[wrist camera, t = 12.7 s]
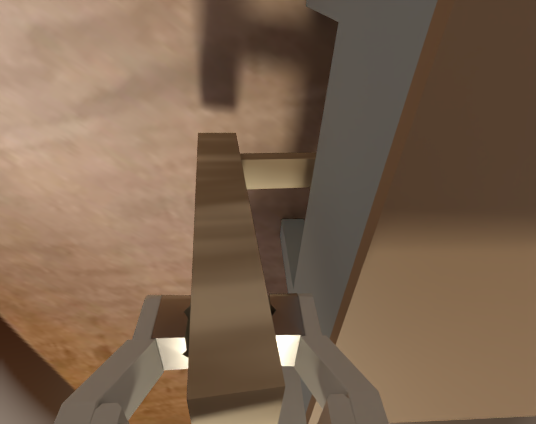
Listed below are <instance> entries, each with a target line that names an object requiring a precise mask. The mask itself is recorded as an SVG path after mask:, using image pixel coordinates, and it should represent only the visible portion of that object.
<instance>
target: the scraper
mask: <svg viewBox="0 0 536 424" xmlns="http://www.w3.org/2000/svg"><path fill="white" fill-rule="evenodd" d="M316 153H317V152H313V153H244V154H240V152H239V146H238V141H237V136H236V133H198V147H197V171H196V194H195V217H194V241H193V264H192V287H191V311H190V334H189V357H188V381H187V404H188V409H189V414H190V419H191V424H278V421H279V416H280V411H281V406H282V401H283V396H284V391H285V382H284V377H283V371H282V366H281V361H280V356H279V351H278V346H277V341H276V336H275V330H274V325H273V320H272V315H271V310H270V305H269V300H268V295H267V290H266V284H265V279H264V274H263V269H262V264H261V259H260V254H259V249H258V244H257V238H256V233H255V228H254V223H253V218H252V213H251V208H250V203H249V198H248V192H247V189H274V188H304V187H311V182H312V176H313V170H314V165H315V159H316Z"/></svg>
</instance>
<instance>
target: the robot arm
mask: <svg viewBox="0 0 536 424" xmlns="http://www.w3.org/2000/svg"><path fill="white" fill-rule="evenodd" d="M268 300H269V305H270V310H271V315H272V320H273V325H274V330H275V336H276V341H277V346H278V351H279V356H280V361H281V366H294V368H295V369H296V371H297V372H298V374H299V375H300V377H301V378H302V380H303V381H304V383H305V384H306V386H307V387H308V389H309V390H310V392H311V393H312V395H313V396H314V397H315V399H316V400H317V402H318V403H319V405H320V406H321V408H322V409H323V410H322V413H321V416H320V418H319V421H318V423H317V424H389V422H388V419H387V416H386V413H385V410H384V407H383V404H382V400H381V397H380V394H379V391H378V390H377V389H376V388H375V387H374V386H373V385H372V384H371V383H370V382H369V381H368V380H367V379H366V377H365V376H364V375H363V374H362V373H361V372H360V371H359V370H358V369H357V368H356V367H355V366H354V365H353V364H352V362H351V361H350V360H349V359H348V358H347V357H346V356H345V355H344V354H343V353H342V352H341V351H340V350H339V348H338V347H337V346H336V345H335V344H334V343H333V342H332V341H331V340H330V339H329V338H328V337H327V336H326V335H322V333H321V328H320V324H319V320H318V315H317V311H316V306H315V302H314V297H313V295H312V294H311V293H302V294H297V293H285V294H269V298H268ZM190 311H191V295H147V296H146V298H145V300H144V303H143V306H142V309H141V313H140V316H139V319H138V323H137V326H136V329H135V332H134V336H133V339H132V340H127V341H126V342H125V343H124V344H123V345H122V346H121V347H120V348H119V349H118V350H117V351H116V352H115V353H114V354H113V355H111V356H110V357H109V358H108V359H107V360H106V361H105V362H104V363H103V364H102V365H101V366H100V367H99V368H98V369H97V370H96V371H95V372H94V373H93V374H92V375H91V376H90V377H89V378H88V379H87V380H86V381H85V382H84V383H83V384H82V385H81V386H80V387H79V388H78V389H77V390H76V391H75V392H74V393H73V394H72V395H70V396H69V397H68V398H67V399H66V400H65V401H64V402H63V403H62V406H61V408H60V410H59V413H58V415H57V417H56V420H55V422H54V424H129V422H128V420H129V418H130V417H131V416H132V414H133V413H134V412H135V410H136V409H137V408H138V406H139V405H140V404H141V402H142V401H143V399H144V398H145V397H146V395H147V394H148V393H149V391H150V390H151V389H152V387H153V386H154V385H155V383H156V382H157V380H158V379H159V378H160V376H161V375H162V374H163V372H164V371H163V370H176V369H188V357H189V334H190Z"/></svg>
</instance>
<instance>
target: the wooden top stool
mask: <svg viewBox="0 0 536 424" xmlns="http://www.w3.org/2000/svg"><path fill="white" fill-rule="evenodd" d="M306 6H307V7H309V8H311V9H313V10H315V11H317V12H319V13H321V14H323V15H325V16H327V17H329V18H331V19H333V20H335V21H337V22H339V23H338V29H337V34H336V40H335V46H334V52H333V58H332V64H331V70H330V76H329V82H328V88H327V94H326V99H325V105H324V111H323V117H322V123H321V129H320V135H319V141H318V147H317V153H316V159H315V165H314V170H313V176H312V182H311V188H310V194H309V200H308V206H307V212H306V218H305V222H304V219H282V222H281V231H280V240H281V247H282V254H283V261H284V268H285V275H286V282H287V289H288V293H297V294H302V293H311V294H312V295H313V297H314V302H315V306H316V311H317V315H318V320H319V324H320V328H321V333H322V335H326V336H327V337H328V338H329V339H330V340H331V341H332V342H333V343H334V344H335V345H336V346H337V347H338V348H339V350H340V351H341V352H342V353H343V354H344V355H345V356H346V357H347V358H348V359H349V360H350V361H351V362H352V364H353V365H354V366H355V367H356V368H357V369H358V370H359V371H360V372H361V373H362V374H363V375H364V376H365V377H366V379H367V380H368V381H369V382H370V383H371V384H372V385H373V386H374V387H375V388H376V389H377V390H378V391H379V394H380V397H381V400H382V404H383V407H384V410H385V413H386V416H387V419H388V422H389V423H401V422H420V421H421V422H422V421H441V420H462V419H482V418H503V417H524V416H536V0H306ZM300 380H301V387H302V394H303V401H304V408H305V415H306V422H307V424H317V423H318V421H319V418H320V416H321V413H322V410H323V409H322V408H321V406H320V405H319V403H318V402H317V400H316V399H315V397H314V396H313V395H312V393H311V392H310V390H309V389H308V387H307V386H306V384H305V383H304V381H303V380H302V378H301V377H300Z"/></svg>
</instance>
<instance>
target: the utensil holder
mask: <svg viewBox="0 0 536 424" xmlns="http://www.w3.org/2000/svg"><path fill="white" fill-rule="evenodd" d="M282 371H283V377H284V382H285V391H284V396H283V401H282V406H281V411H280V416H279V421H278V424H307V422H306V415H305V408H304V401H303V394H302V387H301V380H300V375H299V374H298V372H297V371H296V369H295V368H294V366H282Z"/></svg>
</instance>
